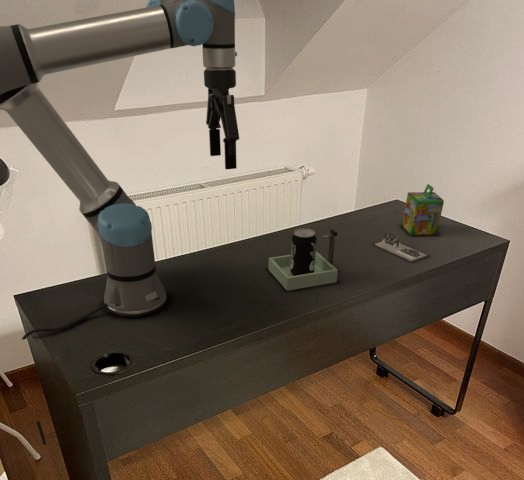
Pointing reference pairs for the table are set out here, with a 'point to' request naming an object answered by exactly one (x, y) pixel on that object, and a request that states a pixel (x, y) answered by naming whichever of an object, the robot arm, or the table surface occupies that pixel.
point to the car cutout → (399, 247)
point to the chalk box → (422, 212)
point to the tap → (331, 245)
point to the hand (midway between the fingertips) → (222, 162)
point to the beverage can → (303, 252)
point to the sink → (321, 275)
